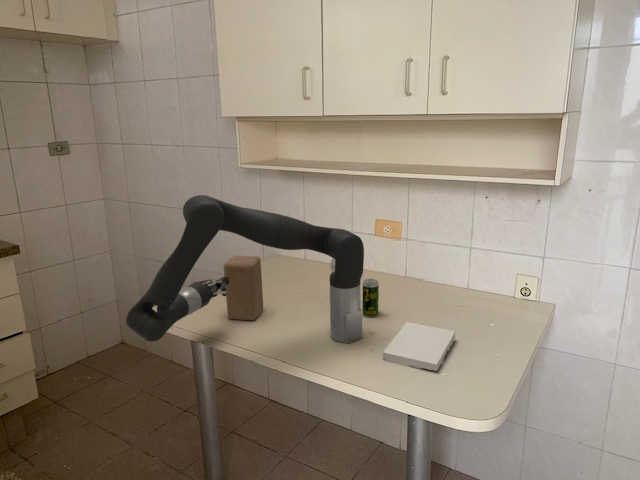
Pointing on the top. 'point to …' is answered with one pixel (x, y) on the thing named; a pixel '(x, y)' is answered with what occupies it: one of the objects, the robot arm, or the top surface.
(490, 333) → the top surface
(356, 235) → the robot arm
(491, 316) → the top surface
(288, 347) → the top surface
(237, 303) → the wooden block
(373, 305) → the beer can
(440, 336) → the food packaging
